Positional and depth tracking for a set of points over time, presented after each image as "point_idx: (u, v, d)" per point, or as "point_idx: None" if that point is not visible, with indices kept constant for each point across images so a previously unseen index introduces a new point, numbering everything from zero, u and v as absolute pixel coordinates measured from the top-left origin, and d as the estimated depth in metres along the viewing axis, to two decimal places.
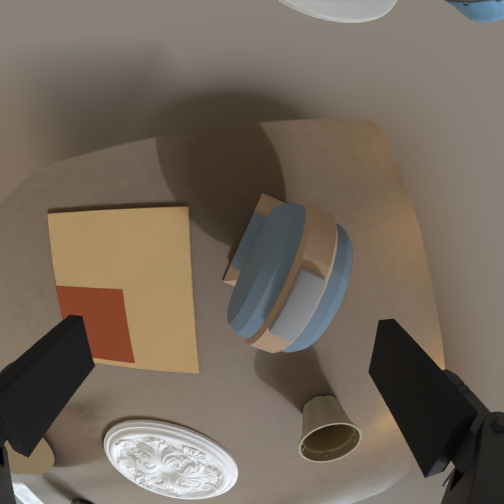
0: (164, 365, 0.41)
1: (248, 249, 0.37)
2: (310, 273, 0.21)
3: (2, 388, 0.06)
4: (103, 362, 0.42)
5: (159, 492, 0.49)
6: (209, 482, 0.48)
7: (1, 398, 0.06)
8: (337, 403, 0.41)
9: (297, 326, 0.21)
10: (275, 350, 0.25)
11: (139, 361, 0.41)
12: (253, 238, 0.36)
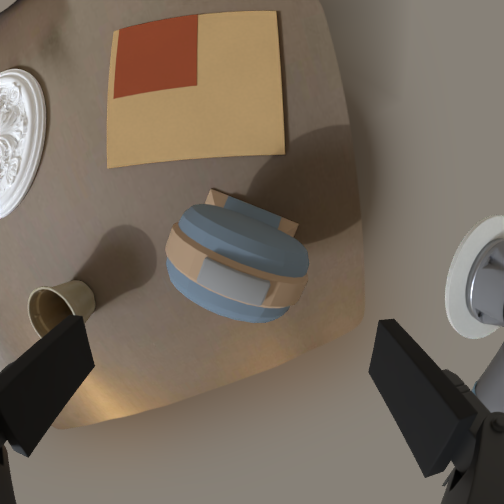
0: (113, 130, 0.36)
1: (246, 213, 0.38)
2: (267, 291, 0.23)
3: (2, 388, 0.06)
4: (111, 64, 0.33)
5: None
6: None
7: (1, 398, 0.06)
8: (89, 315, 0.40)
9: (215, 285, 0.23)
10: (176, 261, 0.25)
11: (115, 103, 0.35)
12: (257, 218, 0.38)
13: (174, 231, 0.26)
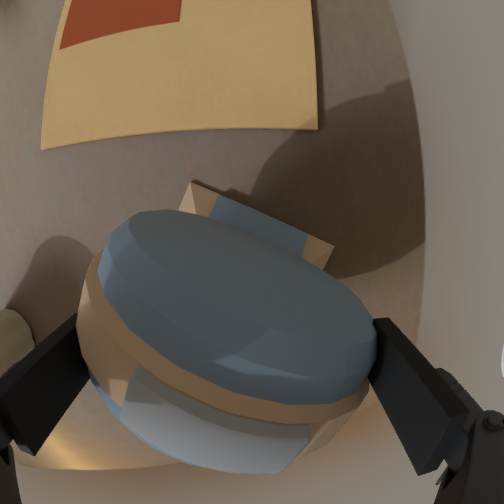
0: (53, 93, 0.20)
1: (248, 226, 0.22)
2: (300, 450, 0.08)
3: (9, 387, 0.06)
4: (64, 6, 0.17)
5: None
6: None
7: (8, 397, 0.06)
8: None
9: (166, 443, 0.07)
10: (84, 350, 0.09)
11: (60, 56, 0.19)
12: (267, 234, 0.22)
13: (86, 274, 0.10)
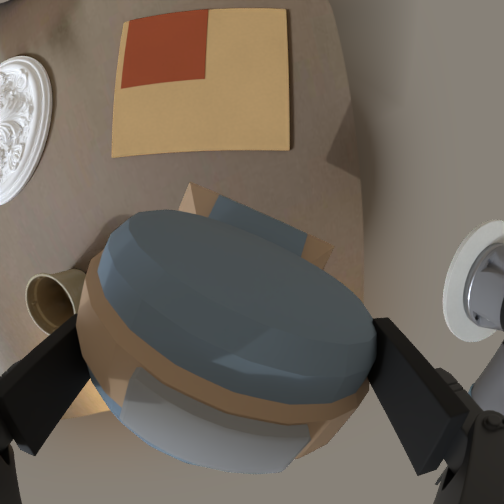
0: (119, 120, 0.36)
1: (248, 226, 0.22)
2: (300, 450, 0.08)
3: (9, 387, 0.06)
4: (119, 54, 0.33)
5: None
6: None
7: (8, 397, 0.06)
8: None
9: (166, 443, 0.07)
10: (84, 350, 0.09)
11: (122, 93, 0.35)
12: (267, 234, 0.22)
13: (86, 274, 0.11)
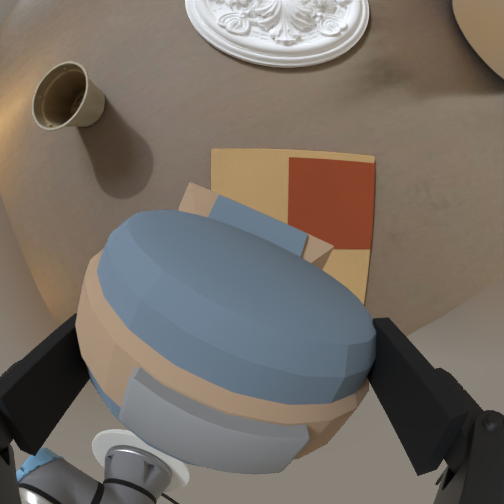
0: (251, 157, 0.38)
1: (248, 226, 0.22)
2: (299, 450, 0.08)
3: (9, 387, 0.06)
4: (332, 153, 0.38)
5: None
6: None
7: (8, 397, 0.06)
8: None
9: (165, 443, 0.07)
10: (83, 350, 0.09)
11: (282, 159, 0.38)
12: (267, 234, 0.22)
13: (86, 274, 0.10)
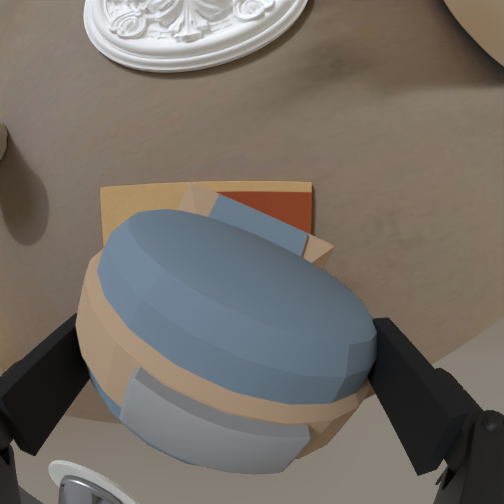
0: (144, 195, 0.29)
1: (248, 226, 0.22)
2: (300, 450, 0.08)
3: (9, 387, 0.06)
4: (249, 183, 0.29)
5: None
6: None
7: (8, 397, 0.06)
8: None
9: (165, 443, 0.07)
10: (83, 349, 0.09)
11: (181, 195, 0.29)
12: (267, 234, 0.22)
13: (86, 274, 0.10)
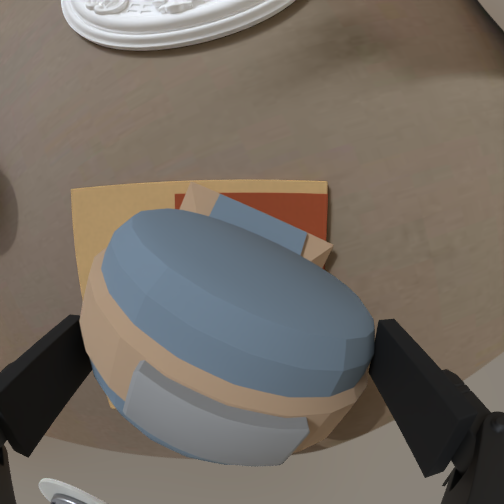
0: (120, 198, 0.23)
1: (248, 225, 0.22)
2: (299, 442, 0.08)
3: (2, 388, 0.06)
4: (249, 182, 0.23)
5: None
6: None
7: (1, 398, 0.06)
8: None
9: (168, 435, 0.07)
10: (87, 345, 0.10)
11: (165, 198, 0.23)
12: (267, 233, 0.22)
13: (90, 271, 0.11)
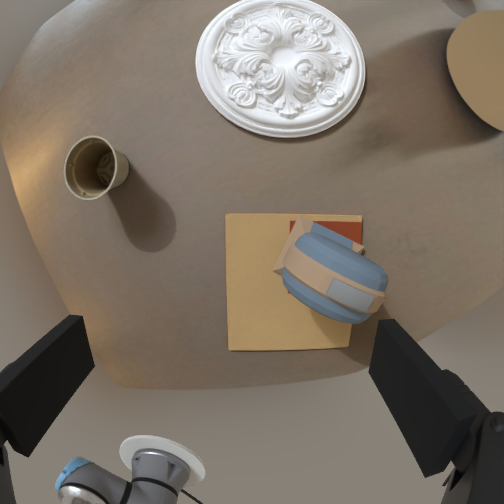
0: (259, 221, 0.47)
1: (327, 237, 0.46)
2: (371, 302, 0.32)
3: (2, 388, 0.06)
4: (326, 216, 0.47)
5: (304, 6, 0.37)
6: (232, 35, 0.40)
7: (1, 398, 0.06)
8: (97, 186, 0.44)
9: (341, 298, 0.31)
10: (305, 279, 0.33)
11: (284, 222, 0.47)
12: (336, 241, 0.46)
13: (300, 256, 0.35)
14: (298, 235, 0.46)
